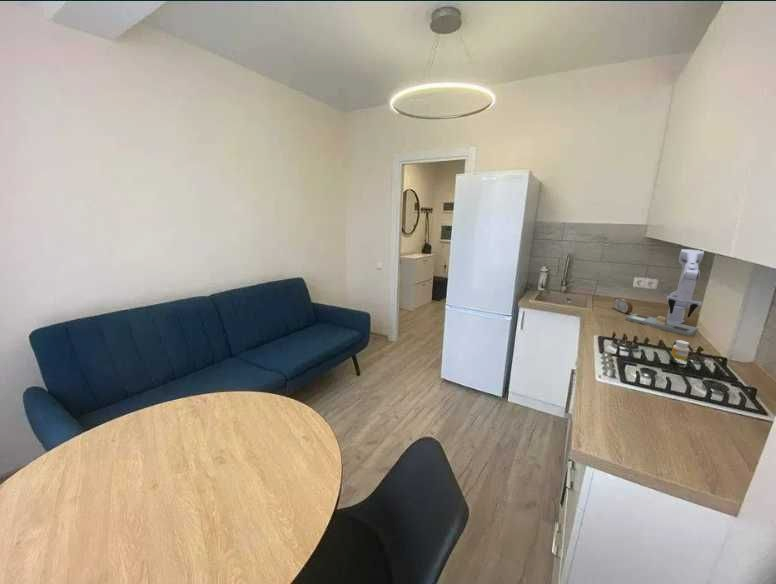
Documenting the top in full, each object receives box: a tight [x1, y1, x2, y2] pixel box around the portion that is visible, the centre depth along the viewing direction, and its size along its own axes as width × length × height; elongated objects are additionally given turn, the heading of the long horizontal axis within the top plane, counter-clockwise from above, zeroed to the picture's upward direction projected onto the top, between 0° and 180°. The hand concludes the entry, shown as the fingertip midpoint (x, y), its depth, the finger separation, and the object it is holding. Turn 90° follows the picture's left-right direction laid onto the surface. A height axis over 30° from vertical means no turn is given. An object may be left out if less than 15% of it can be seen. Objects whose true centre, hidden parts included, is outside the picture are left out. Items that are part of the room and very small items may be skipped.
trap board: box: [625, 313, 699, 337], centre depth 188 cm, size 14×30×2 cm, turn 35°
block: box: [656, 315, 668, 325], centre depth 184 cm, size 4×4×4 cm
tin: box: [613, 297, 633, 314], centre depth 213 cm, size 15×3×8 cm, turn 179°
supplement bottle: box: [670, 339, 690, 360], centre depth 139 cm, size 5×5×10 cm
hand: (679, 315), depth 177 cm, fingers open, 7 cm apart
